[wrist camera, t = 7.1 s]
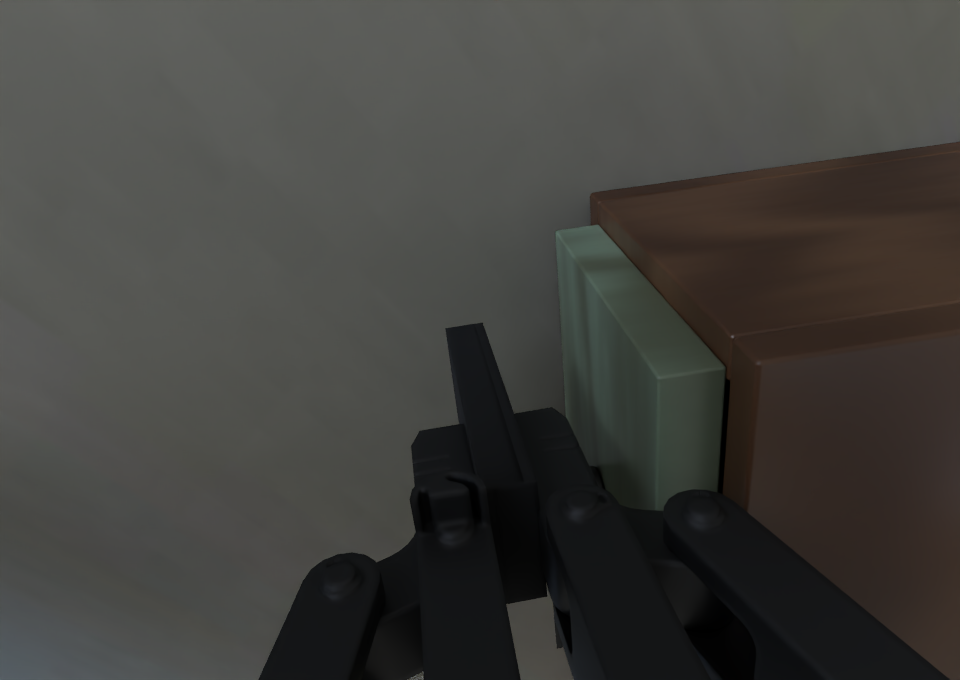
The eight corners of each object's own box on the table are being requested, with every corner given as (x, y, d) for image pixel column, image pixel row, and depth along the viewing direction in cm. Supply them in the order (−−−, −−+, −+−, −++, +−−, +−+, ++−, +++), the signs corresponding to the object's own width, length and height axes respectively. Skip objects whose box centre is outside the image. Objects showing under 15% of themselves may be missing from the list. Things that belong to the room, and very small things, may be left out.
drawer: (538, 560, 24) (603, 799, 17) (509, 236, 19) (586, 388, 12) (951, 490, 25) (1175, 689, 18) (1037, 161, 19) (1404, 261, 12)
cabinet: (600, 542, 25) (715, 837, 16) (588, 192, 19) (757, 362, 11) (991, 476, 26) (1295, 722, 17) (1094, 122, 20) (1630, 226, 11)
